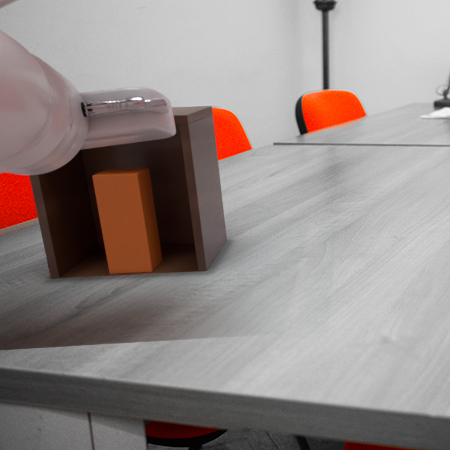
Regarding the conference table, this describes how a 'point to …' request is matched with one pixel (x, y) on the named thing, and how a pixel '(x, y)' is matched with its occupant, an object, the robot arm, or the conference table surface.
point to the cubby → (162, 195)
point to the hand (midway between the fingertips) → (75, 140)
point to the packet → (128, 220)
